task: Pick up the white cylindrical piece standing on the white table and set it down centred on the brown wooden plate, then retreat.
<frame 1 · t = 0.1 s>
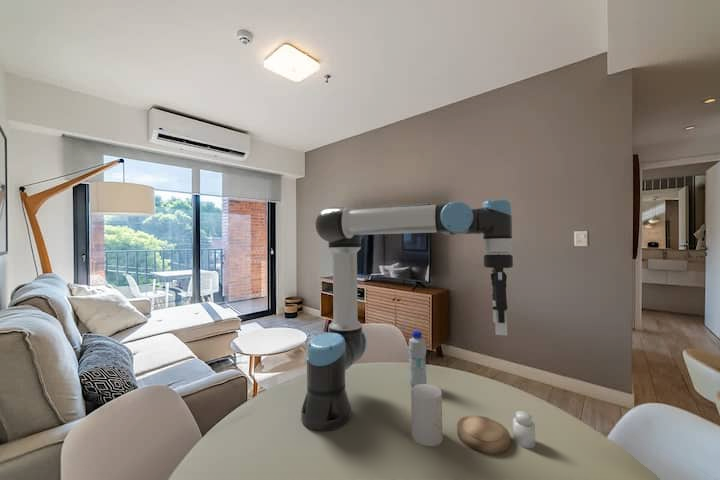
hand: (499, 328, 82), 28 cm above the table, fingers open, 13 cm apart
white cylindrical piece: (427, 436, 77), on the table
brown wooden plate: (482, 437, 77), on the table
bottle: (417, 385, 106), on the table
white knobbed rounded part: (524, 442, 75), on the table
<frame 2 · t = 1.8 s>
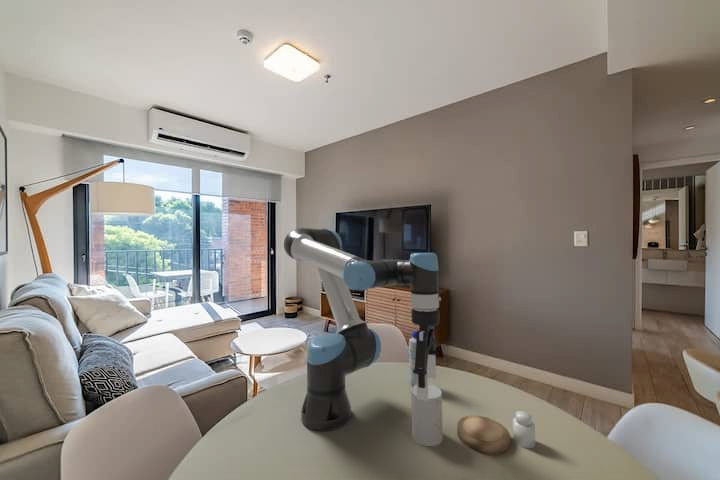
hand: (427, 387, 78), 13 cm above the table, fingers open, 13 cm apart
nothing on the table moved.
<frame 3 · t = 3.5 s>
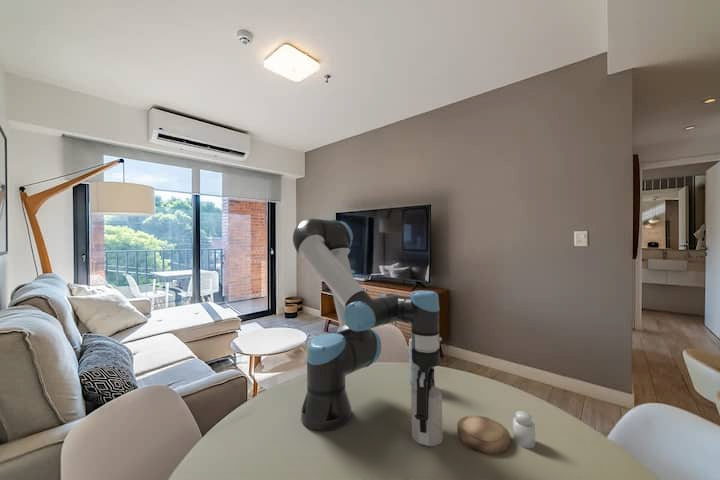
hand: (426, 432, 77), 1 cm above the table, fingers closed on white cylindrical piece, 8 cm apart
white cylindrical piece: (426, 436, 77), on the table, touching gripper
everything else where it was.
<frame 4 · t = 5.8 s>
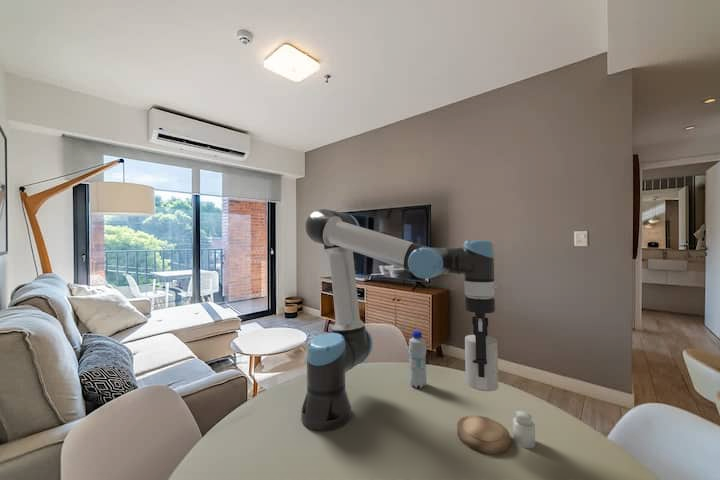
hand: (481, 381, 77), 15 cm above the table, fingers closed on white cylindrical piece, 8 cm apart
white cylindrical piece: (481, 384, 77), point 14 cm above the table, touching gripper
everything else where it was.
when the fingers open (4 cm above the table, at t = 8.1 s): white cylindrical piece drops 1 cm, resting on brown wooden plate.
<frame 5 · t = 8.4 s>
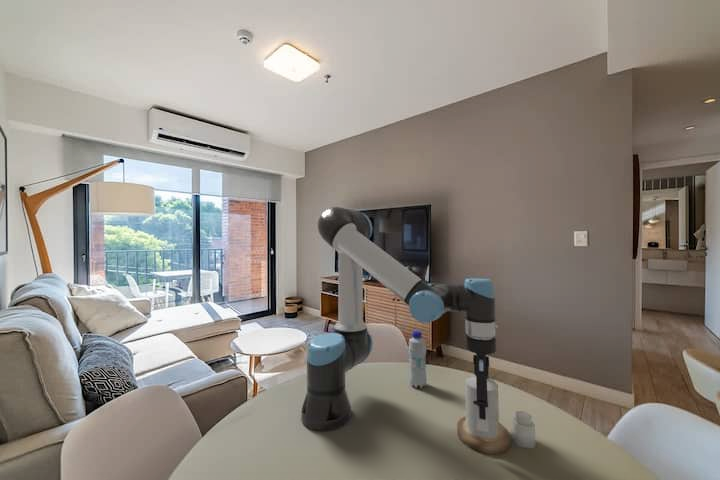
hand: (482, 416, 77), 6 cm above the table, fingers open, 12 cm apart
white cylindrical piece: (482, 429, 77), point 2 cm above the table, touching brown wooden plate
everything else where it was.
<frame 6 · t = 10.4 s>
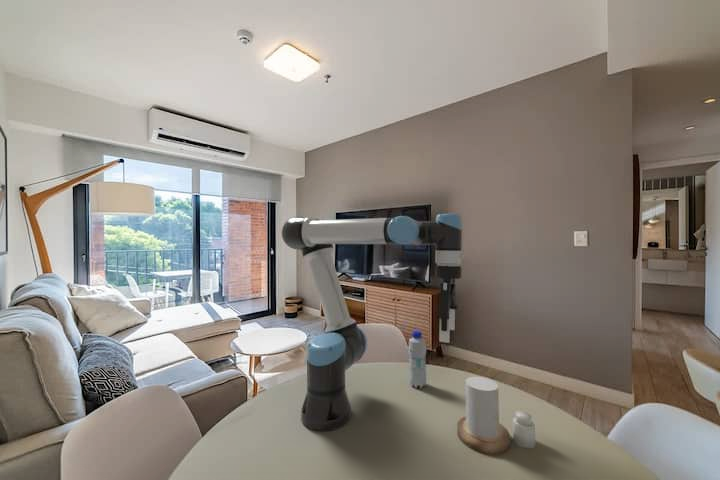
hand: (447, 335, 86), 25 cm above the table, fingers open, 13 cm apart
nothing on the table moved.
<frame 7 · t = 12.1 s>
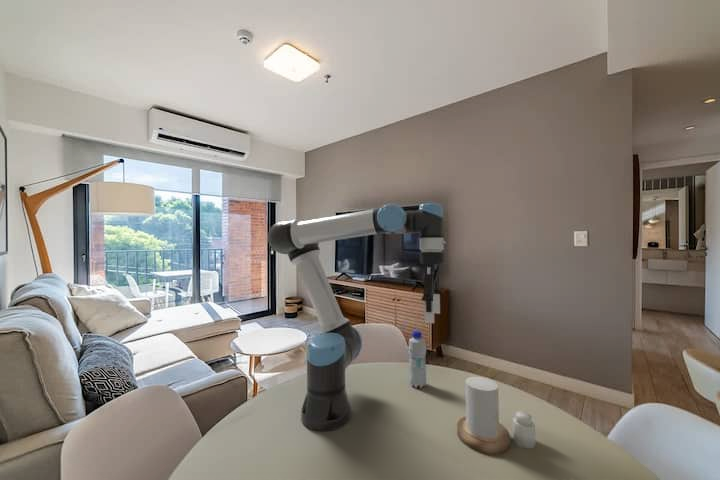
hand: (432, 317, 91), 29 cm above the table, fingers open, 13 cm apart
nothing on the table moved.
at the end: white cylindrical piece inside the target area on the brown wooden plate (0.1 cm from its centre), point 2.1 cm above the brown wooden plate's base; white cylindrical piece touching brown wooden plate; white cylindrical piece tilted 0° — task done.
